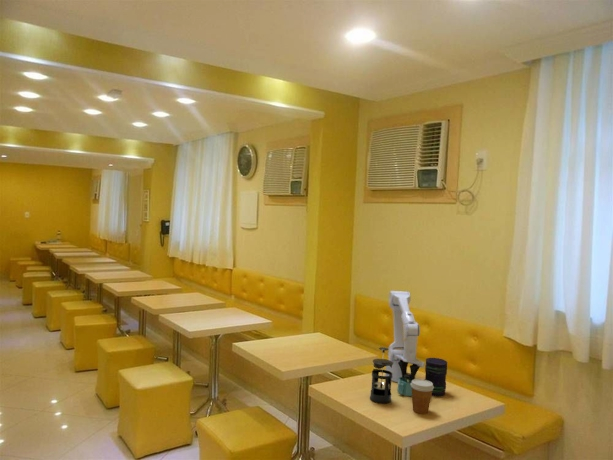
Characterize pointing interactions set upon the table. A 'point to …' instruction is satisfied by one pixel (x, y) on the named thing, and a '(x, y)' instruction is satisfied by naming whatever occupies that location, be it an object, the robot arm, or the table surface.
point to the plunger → (407, 376)
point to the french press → (381, 389)
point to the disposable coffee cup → (421, 395)
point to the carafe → (404, 386)
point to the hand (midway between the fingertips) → (408, 378)
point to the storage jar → (436, 375)
